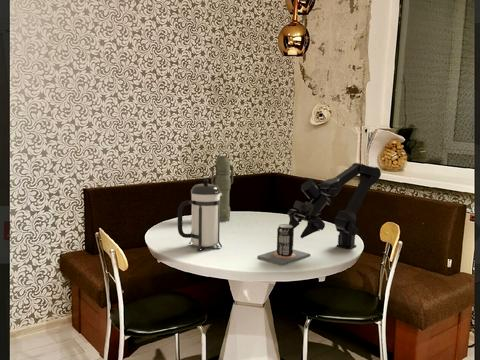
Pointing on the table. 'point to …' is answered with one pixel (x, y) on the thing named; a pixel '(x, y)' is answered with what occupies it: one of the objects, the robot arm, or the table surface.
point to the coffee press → (203, 215)
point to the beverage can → (285, 240)
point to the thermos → (223, 184)
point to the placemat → (283, 257)
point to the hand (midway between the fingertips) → (293, 234)
